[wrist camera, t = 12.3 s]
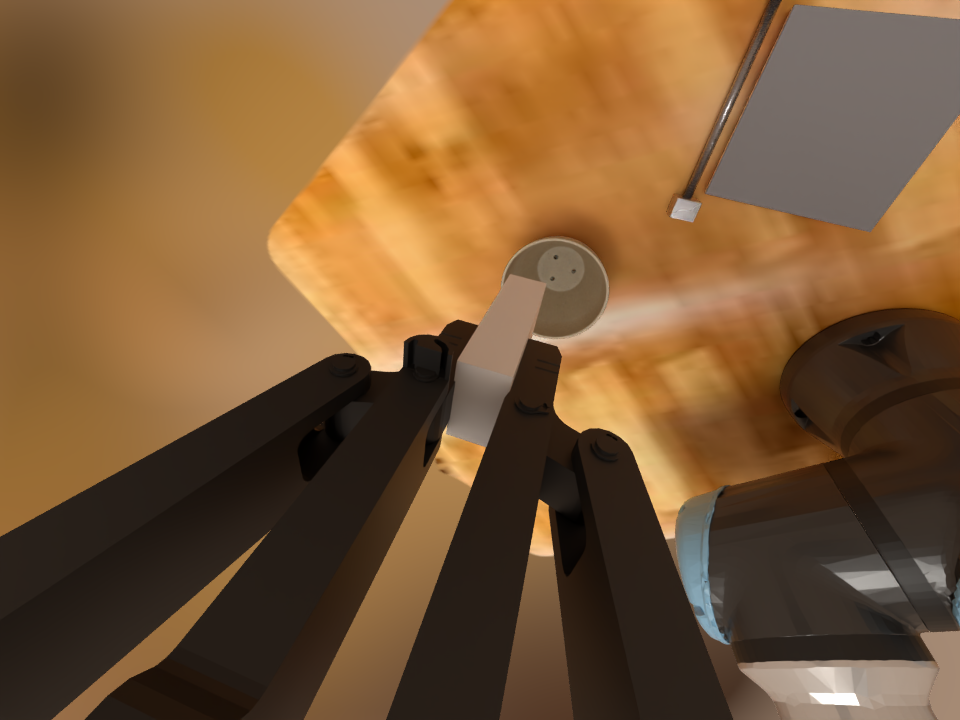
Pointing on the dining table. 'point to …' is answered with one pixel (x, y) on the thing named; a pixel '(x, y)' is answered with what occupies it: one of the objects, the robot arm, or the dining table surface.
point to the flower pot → (563, 284)
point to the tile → (843, 114)
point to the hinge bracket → (720, 122)
